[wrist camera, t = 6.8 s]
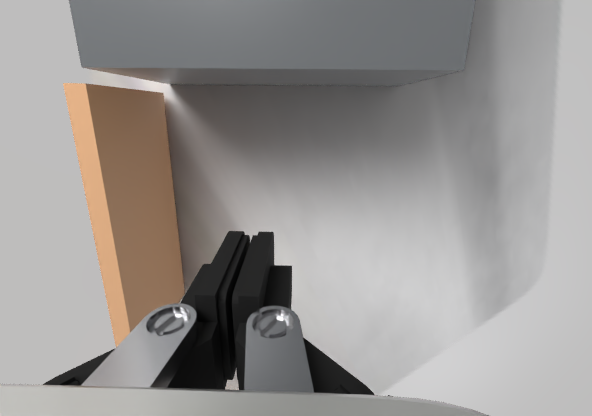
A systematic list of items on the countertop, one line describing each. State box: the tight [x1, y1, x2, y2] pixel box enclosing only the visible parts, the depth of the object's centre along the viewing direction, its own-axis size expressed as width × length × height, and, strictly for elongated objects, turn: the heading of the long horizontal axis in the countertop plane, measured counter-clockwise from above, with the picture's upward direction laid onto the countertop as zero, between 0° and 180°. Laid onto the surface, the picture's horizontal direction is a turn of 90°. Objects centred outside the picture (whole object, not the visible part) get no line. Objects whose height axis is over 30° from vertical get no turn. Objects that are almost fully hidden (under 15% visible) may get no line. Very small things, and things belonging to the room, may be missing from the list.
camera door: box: [63, 83, 185, 347], centre depth 20 cm, size 2×16×8 cm, turn 179°
